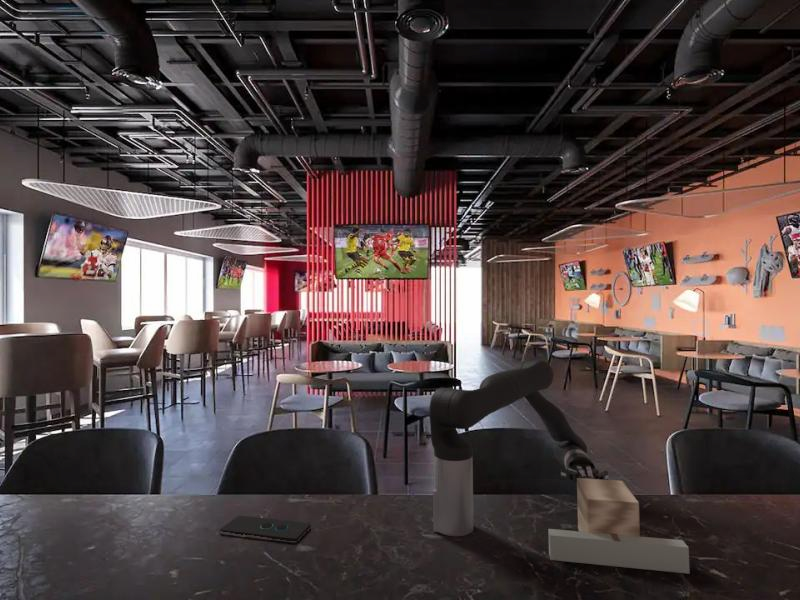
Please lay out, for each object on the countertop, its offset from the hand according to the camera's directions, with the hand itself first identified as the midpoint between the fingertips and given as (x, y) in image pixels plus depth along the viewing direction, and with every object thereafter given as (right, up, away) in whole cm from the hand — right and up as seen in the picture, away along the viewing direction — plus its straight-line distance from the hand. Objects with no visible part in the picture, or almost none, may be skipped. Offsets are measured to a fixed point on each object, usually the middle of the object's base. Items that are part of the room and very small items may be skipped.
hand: (590, 485), depth 116 cm
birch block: (-3, -6, -16) cm, 18 cm away
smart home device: (-81, -8, -8) cm, 82 cm away
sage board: (-5, -6, -24) cm, 25 cm away
